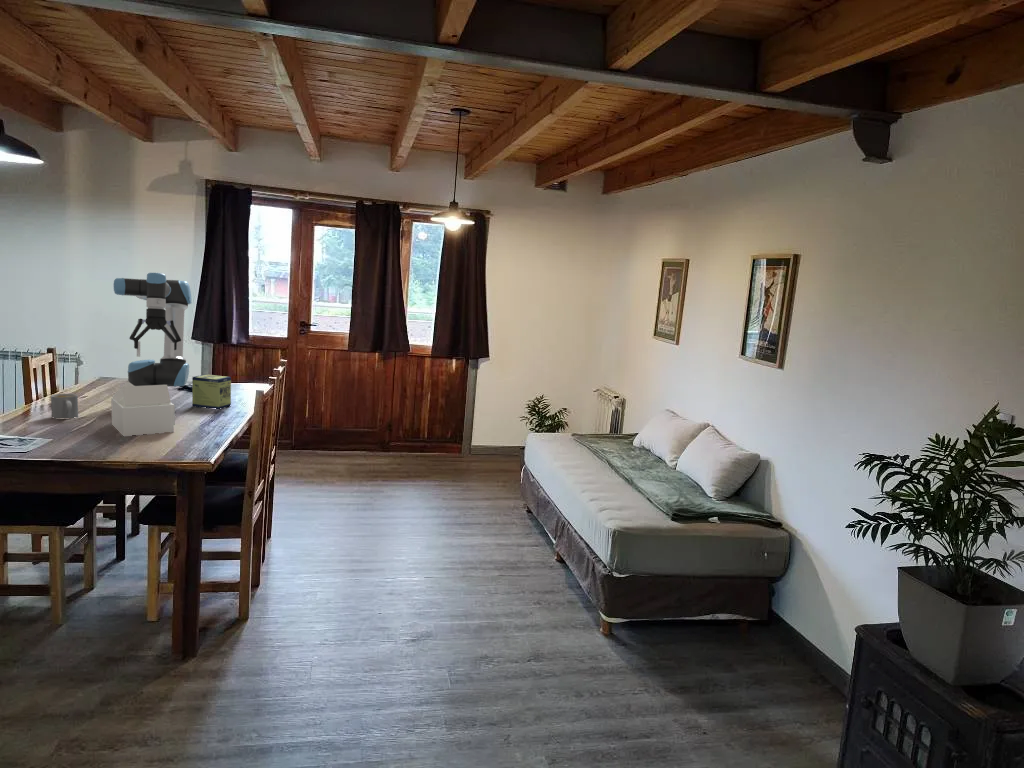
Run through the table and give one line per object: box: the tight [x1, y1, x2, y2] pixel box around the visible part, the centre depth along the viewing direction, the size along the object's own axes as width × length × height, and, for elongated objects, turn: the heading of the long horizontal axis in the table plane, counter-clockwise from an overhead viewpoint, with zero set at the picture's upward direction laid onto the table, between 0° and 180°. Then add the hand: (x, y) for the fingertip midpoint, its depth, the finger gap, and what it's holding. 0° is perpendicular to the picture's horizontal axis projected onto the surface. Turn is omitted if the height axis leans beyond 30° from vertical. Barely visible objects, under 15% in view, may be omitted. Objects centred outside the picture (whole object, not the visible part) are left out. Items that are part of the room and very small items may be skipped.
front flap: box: [121, 385, 172, 406], centre depth 287 cm, size 1×17×9 cm
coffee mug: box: [50, 393, 79, 419], centre depth 305 cm, size 13×10×10 cm
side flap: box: [111, 380, 134, 403], centre depth 291 cm, size 13×1×9 cm
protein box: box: [191, 374, 232, 410], centre depth 349 cm, size 10×16×16 cm
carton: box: [110, 397, 176, 437], centre depth 295 cm, size 24×20×12 cm
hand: (155, 357), depth 299 cm, fingers open, 13 cm apart
